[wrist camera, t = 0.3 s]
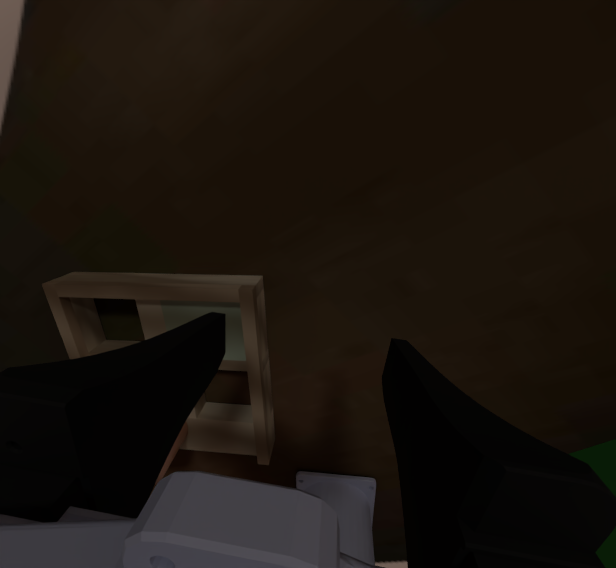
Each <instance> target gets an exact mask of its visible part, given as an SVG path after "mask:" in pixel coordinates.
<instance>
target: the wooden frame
mask: <svg viewBox="0 0 616 568" xmlns="http://www.w3.org/2000/svg"><path fill="white" fill-rule="evenodd" d="M42 286H43V289H44V291H45V294H46V297H47V299H48V302H49V305H50V307H51V310H52V313H53V315H54V318H55V321H56V323H57V326H58V329H59V331H60V334H61V337H62V339H63V342H64V345H65V347H66V350H67V353H68V355H69V358H70V359H76V358H81V357H86V356H91V355H95V354H99V353H103V352H107V351H111V350H115V349H119V348H122V347H126V346H129V345H132V344H135V343H138V342H141V341H120V340H106V337H105V334H104V331H103V328H102V325H101V322H100V318H99V315H98V312H97V309H96V306H95V302H94V299H93V298H110V299H135V301H136V305H137V309H138V313H139V317H140V321H141V324H142V328H143V332H144V336H145V340H147V339H150V338H152V337H155V336H157V335H160V334H162V333H165V332H167V331H169V330H172V329H174V328H176V327H179V326H181V325H183V324H185V323H187V322H190V321H192V320H194V319H196V318H198V317H200V316H203V315H205V314H207V313H210V312H217V313H223V314H226V353H225V356H224V358H223V360H222V362H221V364H220V367H219V369H218V370H232V371H247V373H248V381H249V390H250V399H251V405H240V404H226V403H212V402H206V398H205V393H203V395H202V396H201V398H200V399H199V401H198V402H197V404H196V406H195V407H194V409H193V410H192V412H191V413H190V415H189V417H188V418H187V420H186V422H187V425H188V434H187V436H186V438H185V440H184V442H183V443H182V445H181V447H180V448H179V449H187V450H198V451H210V452H221V453H232V454H244V455H255V456H257V462H258V464H263V465H269V462H270V458H271V454H272V450H273V445H274V441H275V428H274V416H273V403H272V390H271V377H270V364H269V351H268V338H267V325H266V313H265V300H264V287H263V276H246V275H200V274H153V273H106V272H72V273H70V274H67V275H64V276H62V277H59V278H57V279H54V280H51V281H49V282H46V283H43V284H42Z"/></svg>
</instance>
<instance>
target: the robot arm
mask: <svg viewBox="0 0 616 568" xmlns="http://www.w3.org/2000/svg"><path fill="white" fill-rule="evenodd" d="M225 353H226V314H223V313H217V312H210V313H207V314H205V315H203V316H200V317H198V318H196V319H194V320H192V321H190V322H187V323H185V324H183V325H181V326H179V327H176V328H174V329H172V330H169V331H167V332H165V333H162V334H160V335H157V336H155V337H152V338H150V339H147V340H144V341H141V342H138V343H135V344H132V345H129V346H126V347H122V348H119V349H115V350H111V351H107V352H103V353H99V354H95V355H91V356H86V357H81V358H76V359H70V360H65V361H59V362H52V363H45V364H36V365H28V366H20V367H10V368H7V369H5V370H4V371H2V372H0V568H384V567H379V566H375V561H374V549H373V538H372V520H373V510H374V501H375V491H376V480H375V479H374V478H370V477H359V476H348V475H337V474H326V473H316V472H305V471H299V472H297V474H296V488H291V487H285V486H280V485H274V484H269V483H263V482H258V481H252V480H247V479H241V478H236V477H230V476H225V475H219V474H214V473H208V472H203V471H177V472H174V473H172V474H170V475H169V476H167V477H165V478H163V479H161V480H160V481H159V482H158V484H157V485H156V487H155V489H154V491H153V492H152V494H151V491H152V489H153V487H154V485H155V482H156V480H157V478H158V476H159V474H160V472H161V469H162V467H163V465H164V463H165V461H166V459H167V457H168V455H169V453H170V451H171V449H172V447H173V445H174V443H175V441H176V439H177V437H178V435H179V433H180V431H181V429H182V427H183V425H184V423H185V422H186V420H187V418H188V417H189V415H190V413H191V412H192V410H193V409H194V407H195V406H196V404H197V402H198V401H199V399H200V398H201V396H202V395H203V393H204V392H205V390H206V389H207V387H208V385H209V384H210V382H211V381H212V379H213V378H214V376H215V374H216V373H217V371H218V369H219V367H220V364H221V362H222V360H223V358H224V356H225ZM382 385H383V396H384V403H385V407H386V412H387V416H388V421H389V425H390V429H391V434H392V438H393V442H394V447H395V452H396V457H397V463H398V471H399V479H400V487H401V496H402V506H403V515H404V526H405V538H406V549H407V562H408V568H605V566H604V565H603V563H602V562H601V560H600V559H599V557H598V556H597V554H596V553H595V552H596V551H597V550H598V549H599V547H600V546H601V545H602V544H603V542H604V541H605V540H606V539H607V538H608V536H609V535H610V534H611V533H612V531H613V530H614V528H615V527H616V497H615V495H614V494H613V493H612V492H611V491H610V489H609V488H608V487H607V486H606V485H605V484H604V482H603V481H602V480H601V479H600V478H599V476H598V475H597V474H596V473H595V472H594V470H593V469H592V468H591V467H590V466H589V464H587V463H585V462H583V461H581V460H579V459H577V458H575V457H573V456H571V455H568V454H566V453H564V452H562V451H560V450H558V449H556V448H554V447H552V446H550V445H547V444H545V443H544V442H542V441H540V440H538V439H536V438H534V437H532V436H531V435H529V434H527V433H525V432H523V431H521V430H520V429H518V428H516V427H514V426H513V425H511V424H509V423H508V422H506V421H504V420H503V419H501V418H500V417H498V416H496V415H495V414H493V413H492V412H490V411H489V410H487V409H486V408H484V407H483V406H481V405H480V404H478V403H477V402H476V401H474V400H473V399H472V398H470V397H469V396H467V395H466V394H465V393H463V392H462V391H461V390H460V389H458V388H457V387H456V386H455V385H454V384H452V383H451V382H450V381H449V380H448V379H447V378H445V377H444V376H443V375H442V374H441V373H440V372H439V371H438V370H437V369H435V368H434V367H433V366H432V365H431V364H430V363H429V362H428V361H427V360H426V359H425V358H424V357H423V356H422V355H421V354H420V353H419V352H418V351H417V350H416V349H415V348H414V347H413V346H412V345H411V344H410V343H409V342H408V341H406V340H400V339H393V338H392V339H391V343H390V347H389V351H388V355H387V359H386V363H385V367H384V371H383V375H382ZM150 494H151V496H150ZM149 496H150V497H149ZM148 498H149V499H148ZM147 500H148V501H147Z"/></svg>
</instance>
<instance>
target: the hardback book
mask: <svg viewBox="0 0 616 568" xmlns="http://www.w3.org/2000/svg"><path fill="white" fill-rule="evenodd" d="M568 455H571V456H573V457H575V458H577V459H579V460H581V461H583V462H585V463H587V464H589V466H590V467H591V468H592V469H593V470H594V472H595V473H596V474H597V475H598V476H599V478H600V479H601V480H602V481H603V482H604V484H605V485H606V486H607V487H608V488H609V489H610V491H611V492H612V493H613V494H614V495H615V497H616V439H615V440H612V441H609V442H605V443H602V444H599V445H596V446H593V447H590V448H586V449H583V450H580V451H577V452H574V453H570V454H568ZM595 553H596V554H597V556H598V557H599V559H600V560H601V562H602V563H603V565H604V566H605V568H616V527H615V528H614V530H613V531H612V533H611V534H610V535H609V536H608V538H607V539H606V540H605V541H604V542H603V544H602V545H601V546H600V547H599V549H598V550H597V551H596V552H595Z"/></svg>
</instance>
